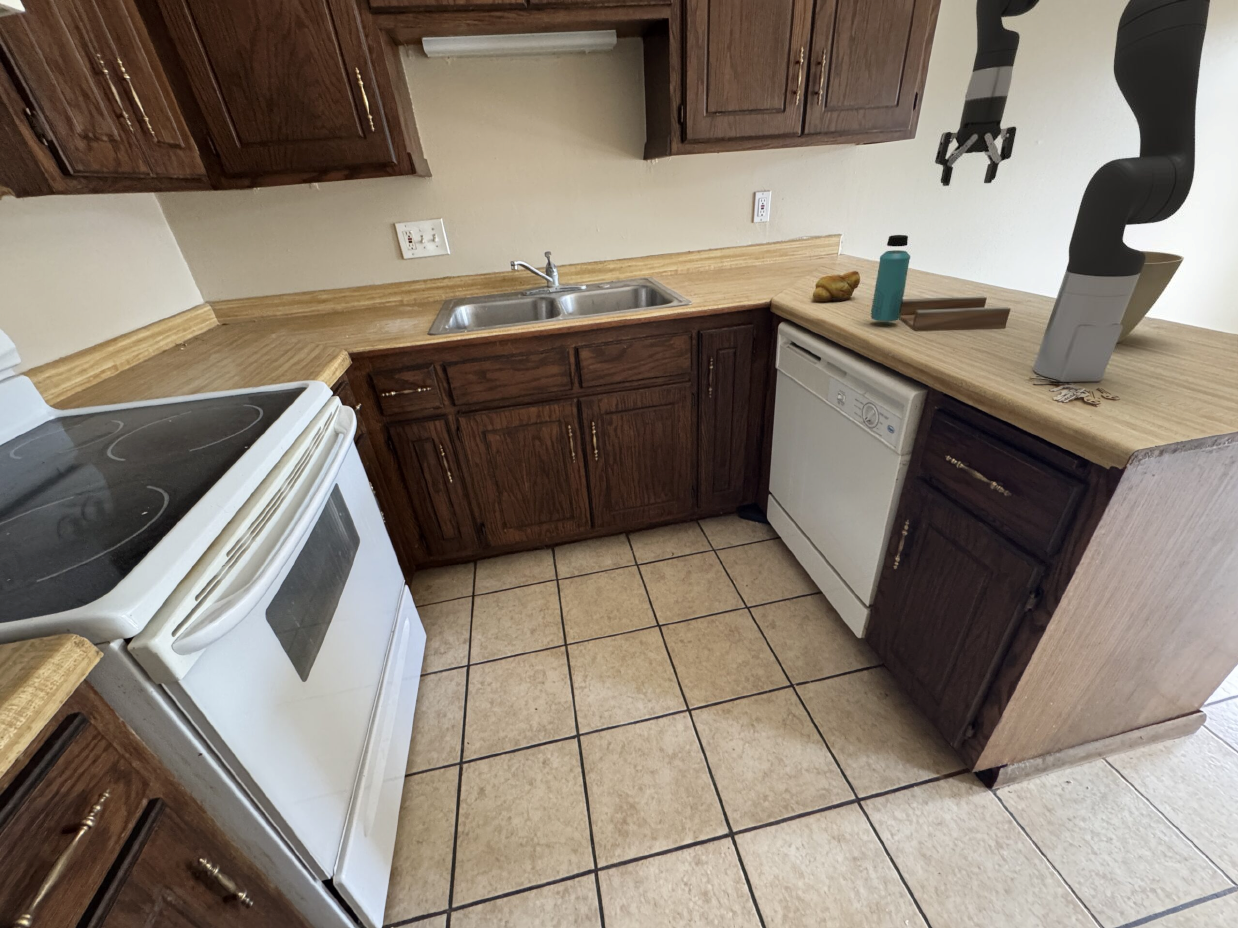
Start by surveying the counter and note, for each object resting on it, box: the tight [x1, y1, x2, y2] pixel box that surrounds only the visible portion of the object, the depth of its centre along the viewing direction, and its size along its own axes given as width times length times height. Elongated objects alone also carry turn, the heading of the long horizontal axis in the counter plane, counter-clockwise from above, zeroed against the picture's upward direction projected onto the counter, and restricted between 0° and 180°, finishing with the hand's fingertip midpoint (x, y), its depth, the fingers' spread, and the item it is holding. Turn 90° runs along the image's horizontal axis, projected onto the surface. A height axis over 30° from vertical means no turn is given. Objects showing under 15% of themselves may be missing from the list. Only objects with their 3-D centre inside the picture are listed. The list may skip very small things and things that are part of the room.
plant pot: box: [1116, 250, 1185, 344], centre depth 103 cm, size 15×15×16 cm
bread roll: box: [812, 270, 861, 303], centre depth 150 cm, size 13×10×8 cm
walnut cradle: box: [898, 295, 1011, 332], centre depth 123 cm, size 13×19×4 cm
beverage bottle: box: [870, 234, 911, 322], centre depth 121 cm, size 6×7×20 cm
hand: (966, 184), depth 116 cm, fingers open, 8 cm apart
